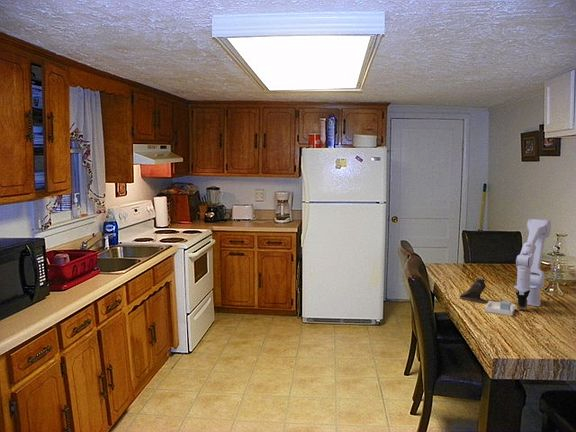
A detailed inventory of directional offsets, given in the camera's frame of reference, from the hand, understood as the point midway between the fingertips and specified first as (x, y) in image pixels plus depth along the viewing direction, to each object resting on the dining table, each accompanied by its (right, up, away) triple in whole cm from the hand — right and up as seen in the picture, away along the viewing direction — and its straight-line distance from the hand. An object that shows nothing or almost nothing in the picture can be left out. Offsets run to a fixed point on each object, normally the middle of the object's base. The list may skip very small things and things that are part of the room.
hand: (522, 305), depth 219 cm
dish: (-11, -3, -1) cm, 12 cm away
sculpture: (-18, -1, +17) cm, 25 cm away
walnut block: (0, -1, 0) cm, 2 cm away
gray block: (-10, -2, -2) cm, 10 cm away
